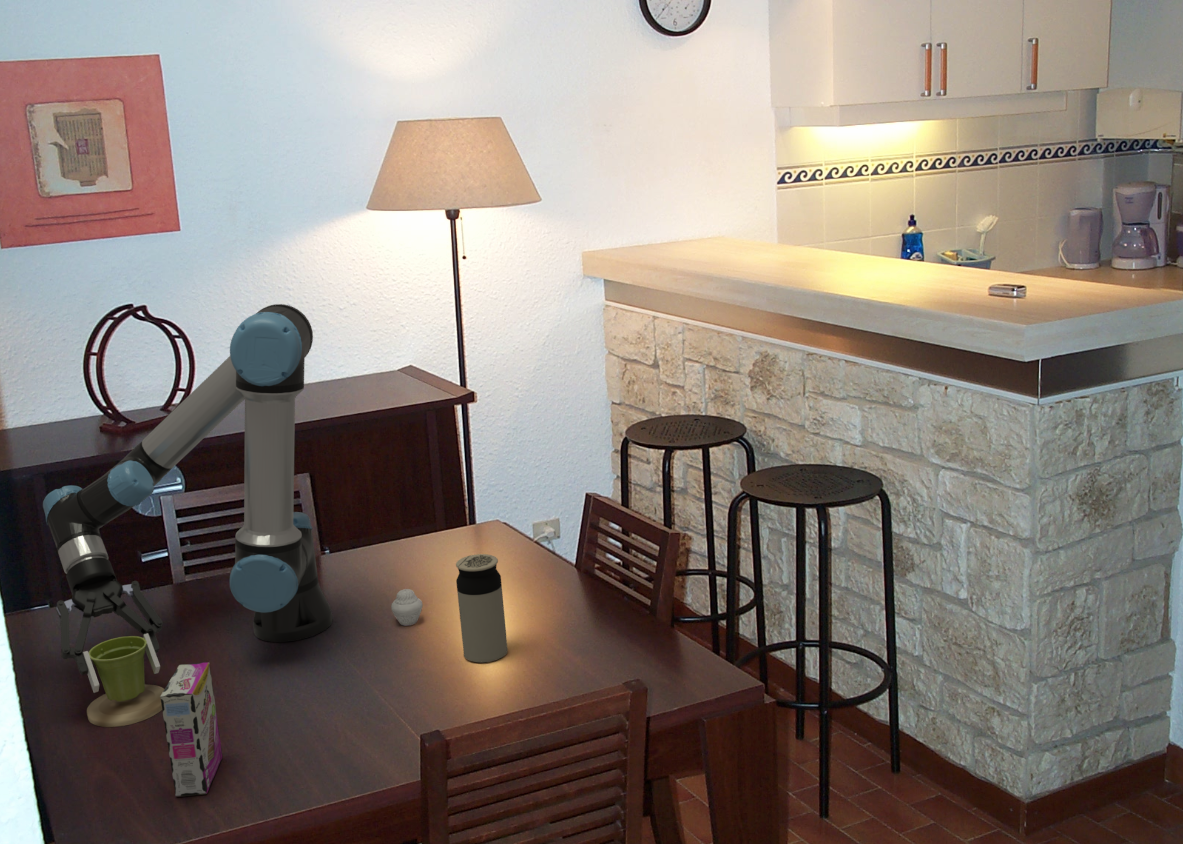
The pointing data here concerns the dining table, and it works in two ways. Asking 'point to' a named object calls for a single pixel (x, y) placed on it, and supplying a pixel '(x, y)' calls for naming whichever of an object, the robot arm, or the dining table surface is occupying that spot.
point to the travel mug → (481, 608)
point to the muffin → (406, 607)
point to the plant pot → (121, 666)
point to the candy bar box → (191, 729)
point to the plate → (125, 708)
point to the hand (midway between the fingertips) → (127, 679)
